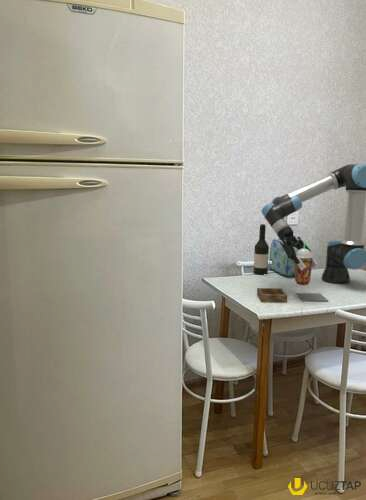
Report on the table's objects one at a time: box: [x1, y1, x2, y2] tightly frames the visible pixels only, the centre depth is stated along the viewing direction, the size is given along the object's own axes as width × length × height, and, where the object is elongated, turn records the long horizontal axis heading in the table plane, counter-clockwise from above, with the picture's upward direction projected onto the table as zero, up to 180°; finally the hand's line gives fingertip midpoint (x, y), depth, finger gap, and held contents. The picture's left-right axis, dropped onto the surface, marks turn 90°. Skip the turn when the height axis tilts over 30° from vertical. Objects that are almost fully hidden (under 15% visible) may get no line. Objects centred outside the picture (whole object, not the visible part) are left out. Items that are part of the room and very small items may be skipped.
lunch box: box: [269, 238, 298, 277], centre depth 244 cm, size 26×11×21 cm, turn 12°
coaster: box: [295, 292, 329, 303], centre depth 196 cm, size 12×12×1 cm
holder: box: [256, 287, 288, 303], centre depth 194 cm, size 12×12×4 cm
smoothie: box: [294, 242, 314, 286], centre depth 193 cm, size 8×8×20 cm
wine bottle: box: [253, 223, 270, 276], centre depth 242 cm, size 8×8×30 cm
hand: (309, 267), depth 190 cm, fingers closed on smoothie, 8 cm apart
